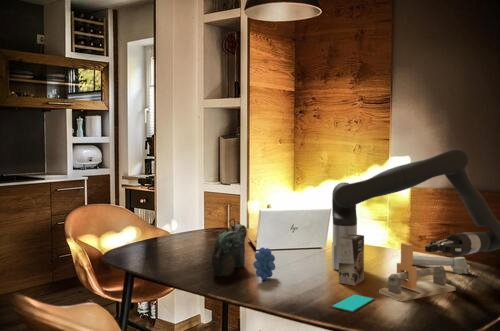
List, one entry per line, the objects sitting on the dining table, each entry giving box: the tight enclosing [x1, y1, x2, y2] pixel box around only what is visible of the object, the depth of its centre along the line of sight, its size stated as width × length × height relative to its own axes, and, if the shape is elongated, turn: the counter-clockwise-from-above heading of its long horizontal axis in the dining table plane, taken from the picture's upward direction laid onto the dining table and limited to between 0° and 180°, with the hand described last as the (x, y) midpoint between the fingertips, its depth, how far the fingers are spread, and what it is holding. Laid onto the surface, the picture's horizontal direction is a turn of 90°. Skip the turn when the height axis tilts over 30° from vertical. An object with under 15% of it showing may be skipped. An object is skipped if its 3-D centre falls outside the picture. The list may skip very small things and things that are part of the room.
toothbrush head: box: [413, 254, 471, 275], centre depth 194 cm, size 5×7×25 cm
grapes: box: [252, 247, 276, 281], centre depth 179 cm, size 12×7×12 cm, turn 141°
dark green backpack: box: [211, 218, 248, 277], centre depth 191 cm, size 20×6×20 cm, turn 150°
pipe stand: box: [378, 266, 457, 302], centre depth 165 cm, size 24×10×7 cm, turn 117°
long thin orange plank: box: [396, 242, 418, 289], centre depth 163 cm, size 2×7×14 cm, turn 27°
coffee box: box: [338, 234, 365, 286], centre depth 177 cm, size 9×6×16 cm
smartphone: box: [330, 294, 375, 314], centre depth 154 cm, size 7×1×15 cm
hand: (426, 248), depth 166 cm, fingers closed
